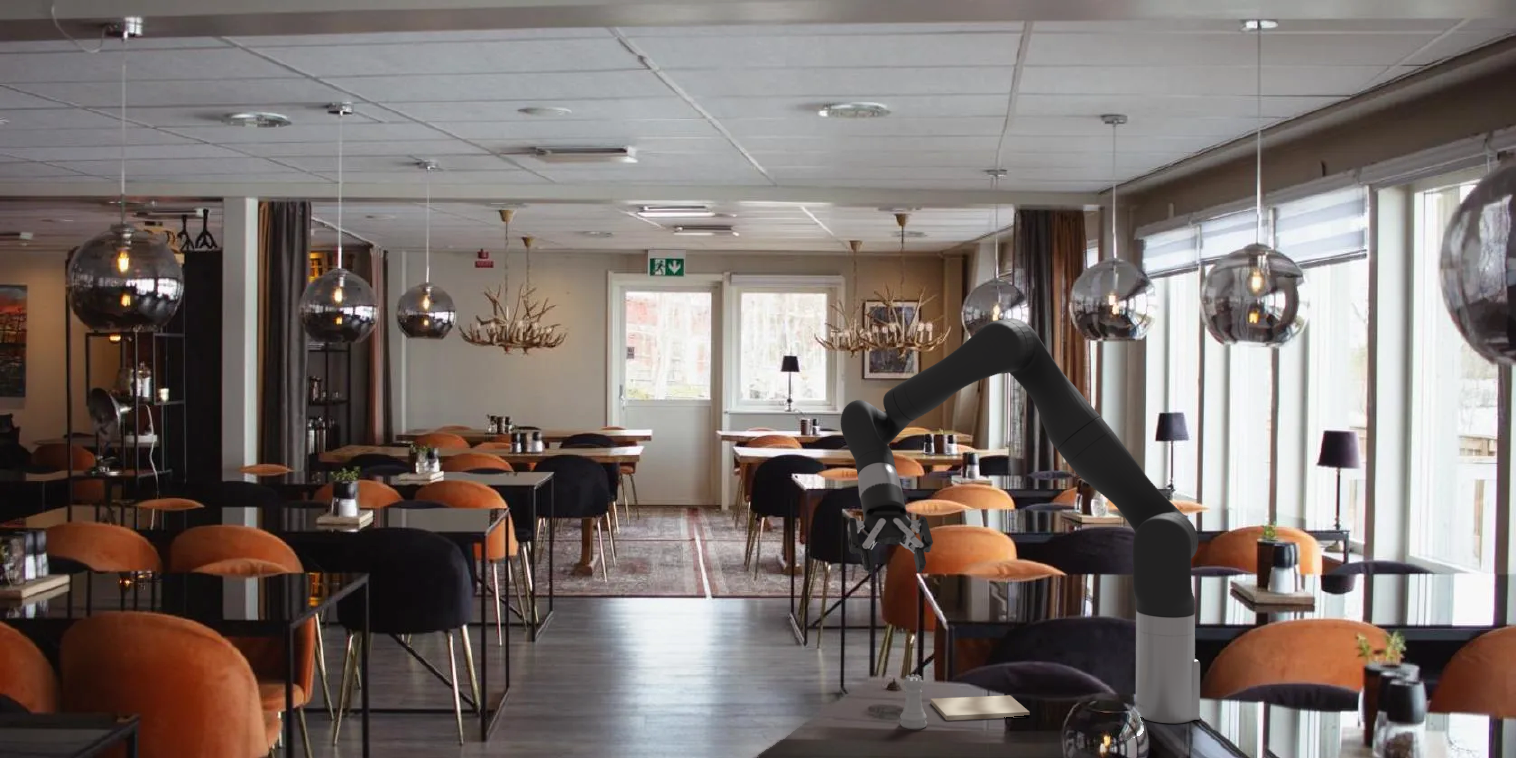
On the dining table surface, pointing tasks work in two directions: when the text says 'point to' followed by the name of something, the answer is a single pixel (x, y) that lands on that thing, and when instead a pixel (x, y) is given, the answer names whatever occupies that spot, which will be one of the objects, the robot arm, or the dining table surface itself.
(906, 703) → the rook chess piece
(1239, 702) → the dining table surface
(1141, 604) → the robot arm
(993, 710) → the birch placemat
